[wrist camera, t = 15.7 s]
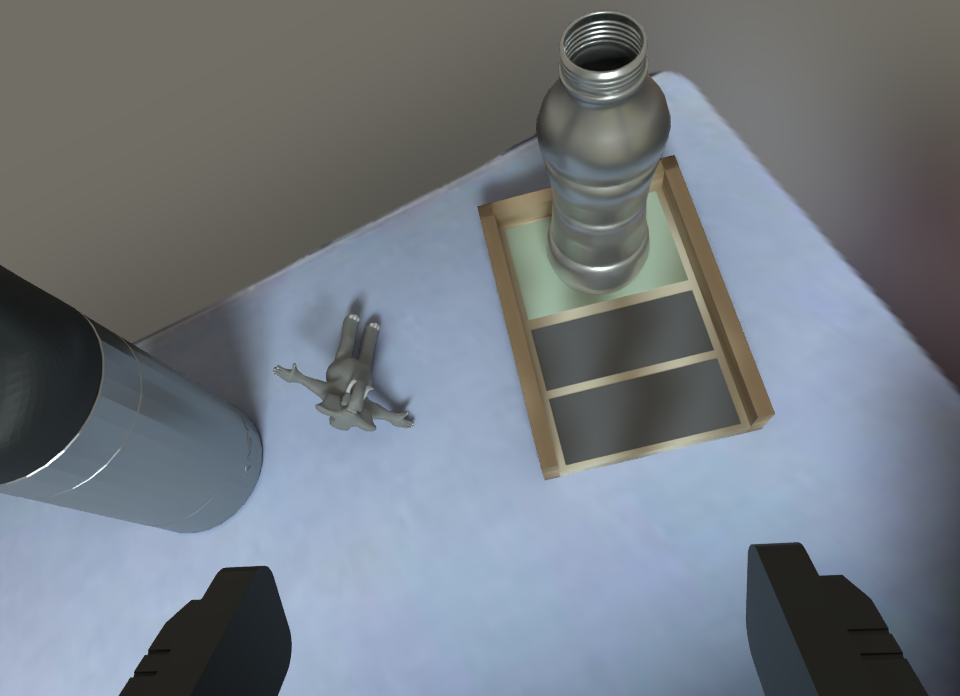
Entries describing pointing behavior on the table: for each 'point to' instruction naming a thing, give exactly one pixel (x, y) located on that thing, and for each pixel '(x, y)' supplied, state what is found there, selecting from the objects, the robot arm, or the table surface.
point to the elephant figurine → (348, 383)
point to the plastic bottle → (601, 152)
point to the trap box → (624, 339)
